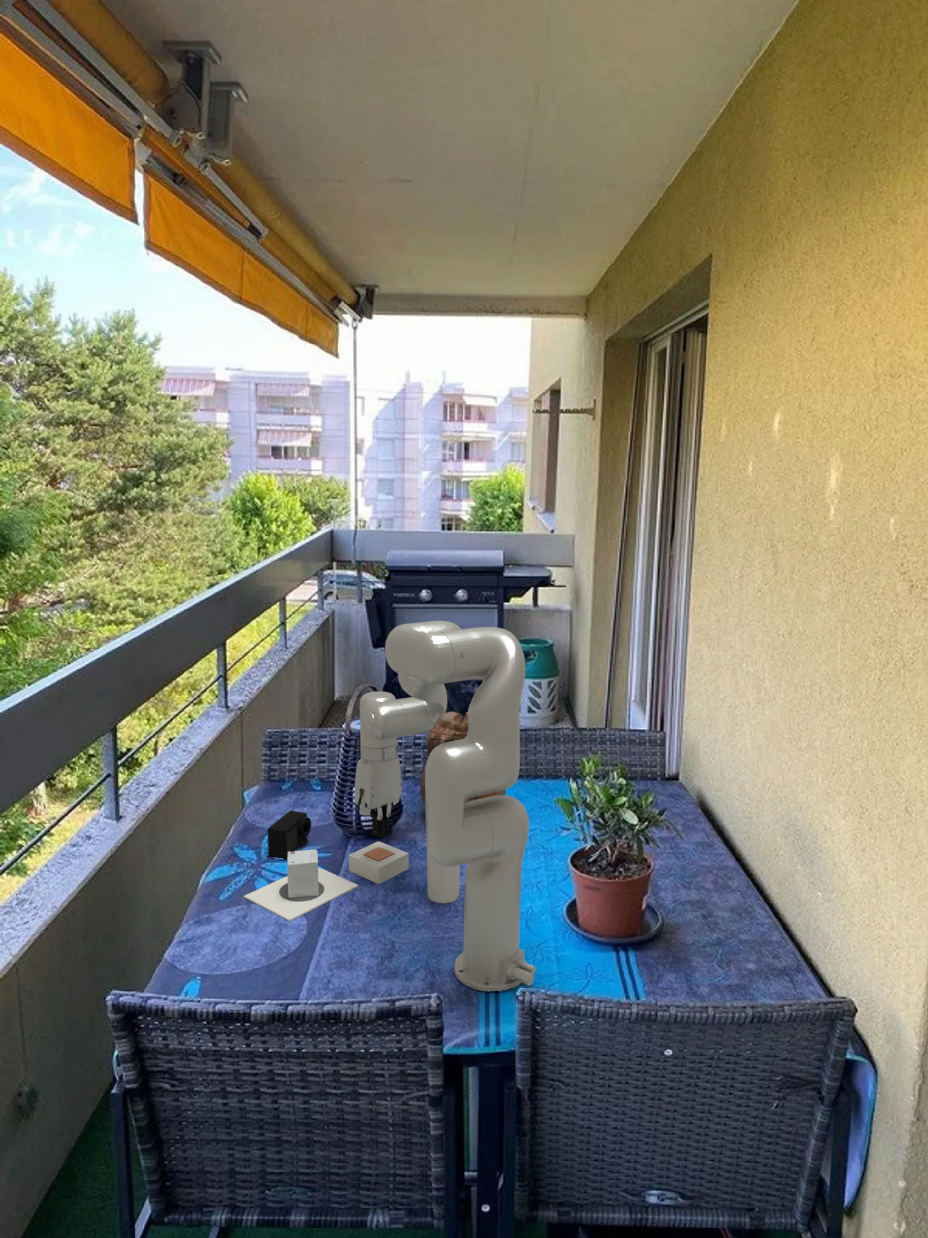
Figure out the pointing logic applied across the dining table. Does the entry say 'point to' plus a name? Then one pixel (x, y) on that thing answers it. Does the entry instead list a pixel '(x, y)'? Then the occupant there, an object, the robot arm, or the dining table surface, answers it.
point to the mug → (442, 881)
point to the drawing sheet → (291, 908)
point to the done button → (378, 854)
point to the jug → (446, 731)
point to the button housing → (378, 863)
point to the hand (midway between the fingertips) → (380, 835)
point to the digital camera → (288, 834)
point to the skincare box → (302, 873)
